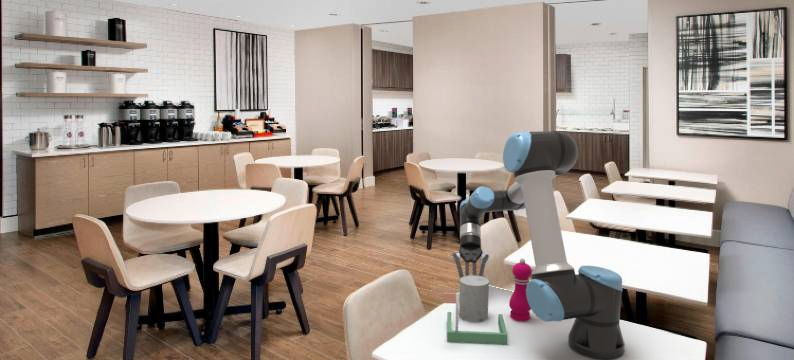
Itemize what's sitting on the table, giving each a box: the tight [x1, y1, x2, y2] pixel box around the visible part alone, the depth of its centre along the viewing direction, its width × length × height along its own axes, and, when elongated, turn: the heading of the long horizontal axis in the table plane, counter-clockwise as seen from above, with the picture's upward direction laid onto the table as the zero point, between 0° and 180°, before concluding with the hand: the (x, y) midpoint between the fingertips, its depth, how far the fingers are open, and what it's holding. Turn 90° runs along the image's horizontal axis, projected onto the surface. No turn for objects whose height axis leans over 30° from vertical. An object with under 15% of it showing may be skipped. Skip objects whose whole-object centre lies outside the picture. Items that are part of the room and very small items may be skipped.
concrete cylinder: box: [458, 274, 490, 323], centre depth 167 cm, size 10×10×12 cm
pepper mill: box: [508, 258, 533, 322], centre depth 166 cm, size 7×7×20 cm
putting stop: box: [442, 292, 509, 345], centre depth 156 cm, size 19×14×15 cm
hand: (471, 299), depth 174 cm, fingers closed
